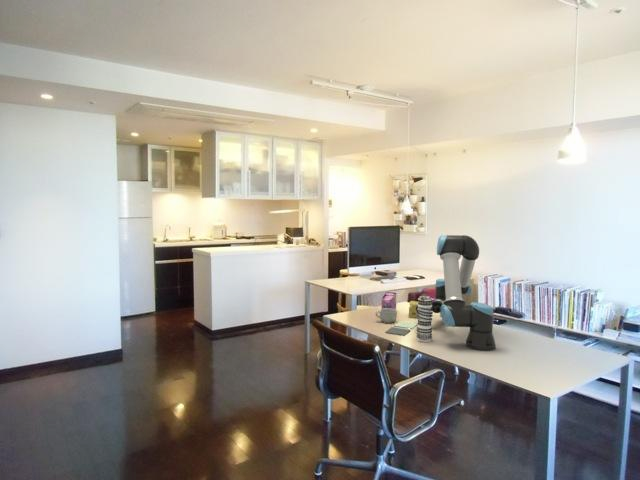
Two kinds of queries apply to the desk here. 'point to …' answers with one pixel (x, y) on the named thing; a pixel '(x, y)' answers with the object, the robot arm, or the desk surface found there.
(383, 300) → the gum box
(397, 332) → the charcoal mat
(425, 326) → the decorative candle
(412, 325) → the sage mat
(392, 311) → the teacup
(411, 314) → the cheese
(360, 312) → the desk surface
